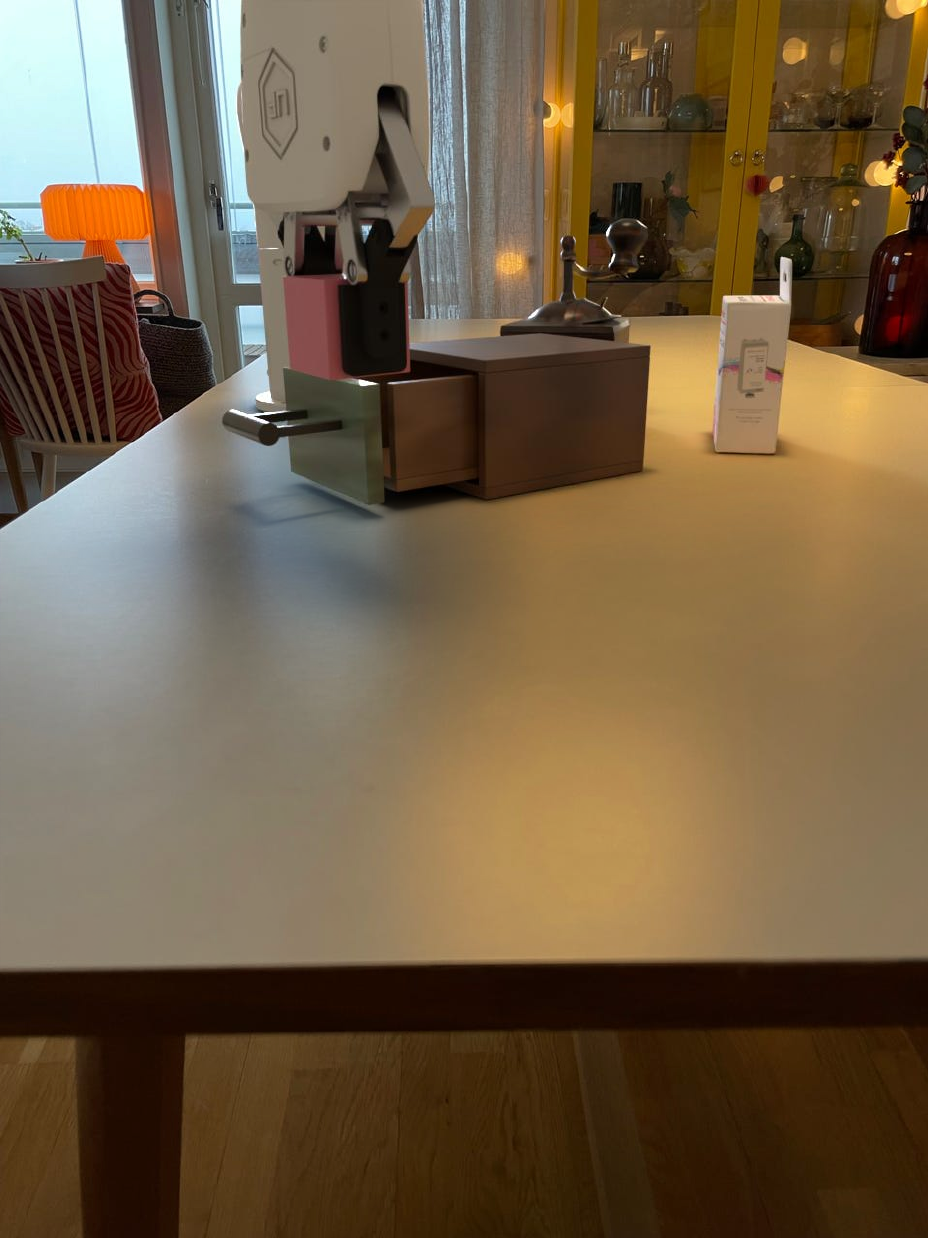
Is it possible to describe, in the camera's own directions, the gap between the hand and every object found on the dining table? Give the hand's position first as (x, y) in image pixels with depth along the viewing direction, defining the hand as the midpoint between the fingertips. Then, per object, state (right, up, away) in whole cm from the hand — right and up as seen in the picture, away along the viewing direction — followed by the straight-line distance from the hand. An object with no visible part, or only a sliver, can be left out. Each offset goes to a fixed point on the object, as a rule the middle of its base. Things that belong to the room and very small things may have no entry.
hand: (349, 362), depth 46 cm
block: (0, 0, 0) cm, 0 cm away
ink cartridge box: (+29, +2, +33) cm, 44 cm away
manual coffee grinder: (+16, +6, +44) cm, 47 cm away
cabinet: (+10, -1, +25) cm, 27 cm away
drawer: (0, -3, +19) cm, 19 cm away
